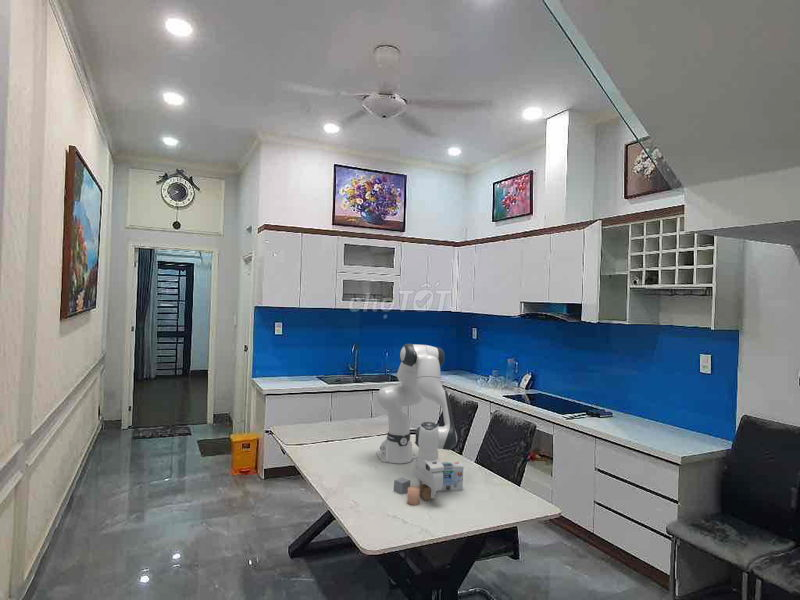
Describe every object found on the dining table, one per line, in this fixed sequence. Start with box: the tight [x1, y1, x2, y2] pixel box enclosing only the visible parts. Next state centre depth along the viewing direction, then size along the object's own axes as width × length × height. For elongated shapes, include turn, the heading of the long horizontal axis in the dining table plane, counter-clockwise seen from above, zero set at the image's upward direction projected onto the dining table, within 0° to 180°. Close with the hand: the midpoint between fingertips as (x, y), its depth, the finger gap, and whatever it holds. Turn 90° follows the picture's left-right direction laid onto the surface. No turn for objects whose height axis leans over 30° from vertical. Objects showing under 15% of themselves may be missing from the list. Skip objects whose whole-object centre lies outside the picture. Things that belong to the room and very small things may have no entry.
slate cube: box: [393, 476, 411, 495], centre depth 223 cm, size 5×5×5 cm
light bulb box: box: [439, 461, 464, 492], centre depth 228 cm, size 11×7×11 cm, turn 101°
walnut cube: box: [418, 483, 436, 501], centre depth 217 cm, size 5×5×5 cm
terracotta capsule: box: [406, 485, 420, 506], centre depth 210 cm, size 5×5×6 cm
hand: (426, 493), depth 217 cm, fingers open, 8 cm apart
